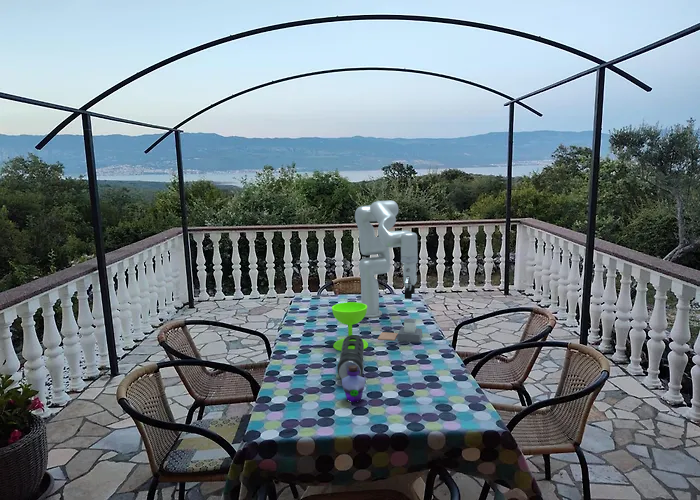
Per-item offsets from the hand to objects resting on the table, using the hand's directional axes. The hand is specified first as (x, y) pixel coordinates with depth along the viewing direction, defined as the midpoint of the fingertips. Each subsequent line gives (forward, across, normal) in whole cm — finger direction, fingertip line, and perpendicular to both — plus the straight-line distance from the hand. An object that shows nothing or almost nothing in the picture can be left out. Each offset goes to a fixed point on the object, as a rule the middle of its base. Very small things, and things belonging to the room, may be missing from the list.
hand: (409, 296), depth 219 cm
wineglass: (+21, -14, +25) cm, 35 cm away
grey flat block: (+20, 0, 0) cm, 20 cm away
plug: (+20, 0, 0) cm, 20 cm away
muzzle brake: (+21, -41, +17) cm, 49 cm away
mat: (+20, 0, +11) cm, 23 cm away
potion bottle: (+21, -64, +10) cm, 68 cm away
